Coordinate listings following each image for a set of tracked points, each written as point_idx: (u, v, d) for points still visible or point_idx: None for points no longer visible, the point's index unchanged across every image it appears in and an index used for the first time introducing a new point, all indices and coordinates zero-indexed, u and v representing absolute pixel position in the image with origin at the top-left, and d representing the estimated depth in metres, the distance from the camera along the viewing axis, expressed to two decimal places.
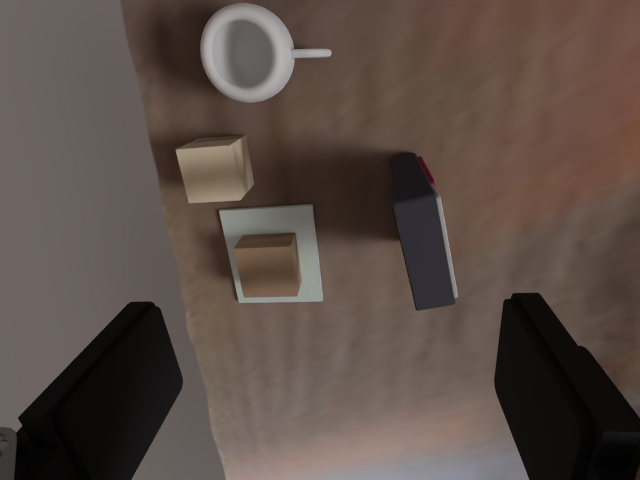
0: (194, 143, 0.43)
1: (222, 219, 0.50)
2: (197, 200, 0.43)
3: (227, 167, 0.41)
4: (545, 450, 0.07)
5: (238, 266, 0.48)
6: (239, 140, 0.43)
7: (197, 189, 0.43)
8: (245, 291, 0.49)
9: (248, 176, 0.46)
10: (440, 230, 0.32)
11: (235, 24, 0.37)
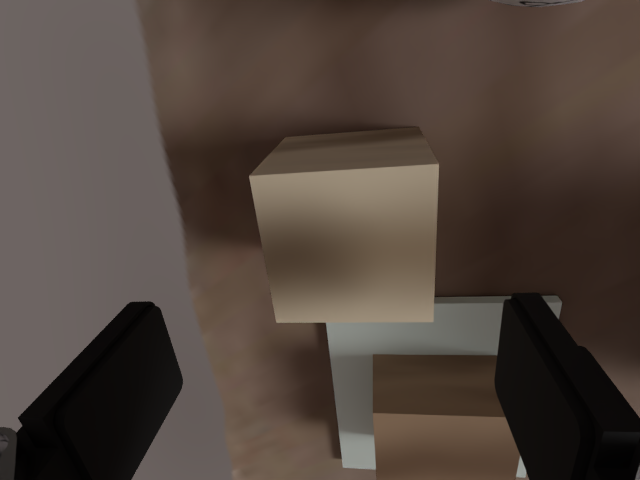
0: (293, 152, 0.15)
1: None
2: (302, 317, 0.15)
3: (414, 232, 0.13)
4: (545, 450, 0.07)
5: (379, 446, 0.20)
6: None
7: (307, 290, 0.14)
8: None
9: None
10: None
11: None
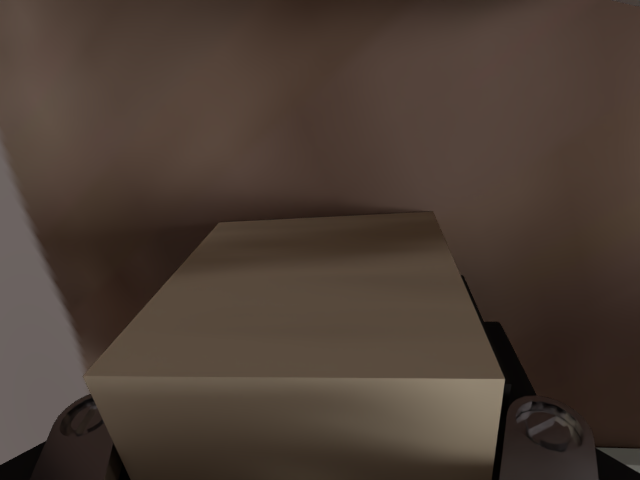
0: (210, 279, 0.08)
1: None
2: None
3: None
4: None
5: None
6: None
7: None
8: None
9: None
10: None
11: None
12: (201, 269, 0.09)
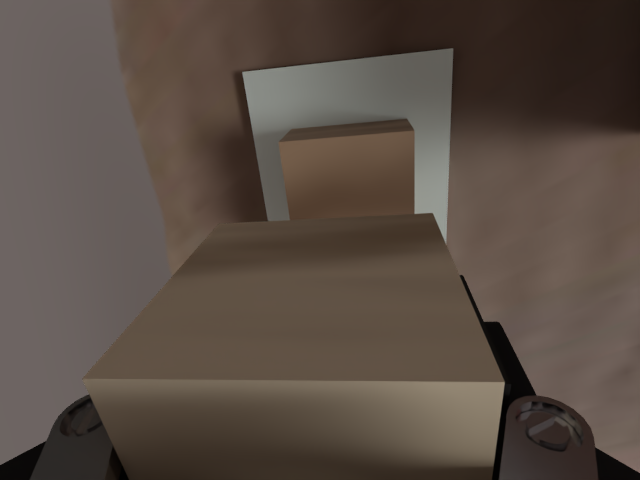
0: (210, 281, 0.08)
1: (249, 93, 0.23)
2: None
3: None
4: None
5: (289, 185, 0.21)
6: None
7: None
8: None
9: None
10: None
11: None
12: (201, 271, 0.09)
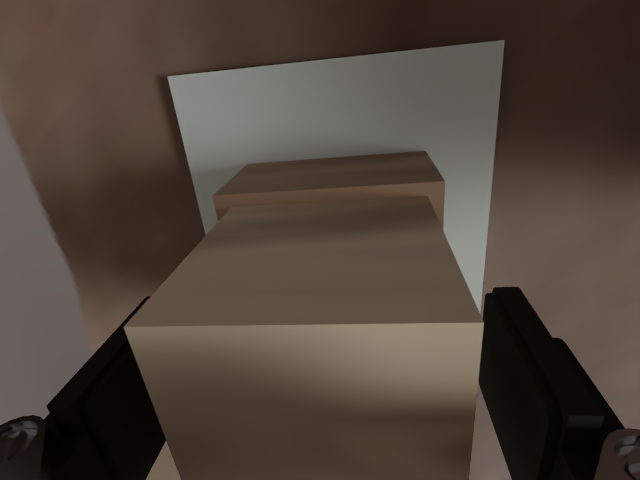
0: (227, 252, 0.09)
1: (180, 109, 0.15)
2: None
3: (431, 426, 0.07)
4: (520, 436, 0.08)
5: None
6: None
7: None
8: None
9: None
10: None
11: None
12: (218, 245, 0.10)
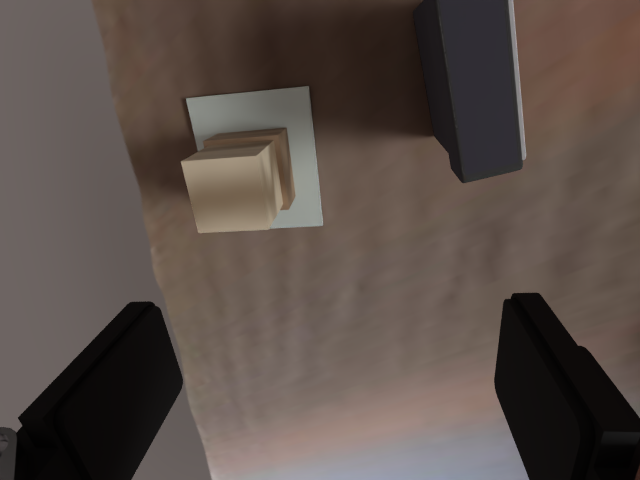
0: (206, 152, 0.32)
1: (190, 111, 0.38)
2: (210, 229, 0.32)
3: (252, 185, 0.30)
4: (545, 449, 0.07)
5: None
6: (267, 148, 0.32)
7: (211, 215, 0.31)
8: None
9: (276, 195, 0.34)
10: (508, 31, 0.20)
11: None
12: (203, 151, 0.32)
